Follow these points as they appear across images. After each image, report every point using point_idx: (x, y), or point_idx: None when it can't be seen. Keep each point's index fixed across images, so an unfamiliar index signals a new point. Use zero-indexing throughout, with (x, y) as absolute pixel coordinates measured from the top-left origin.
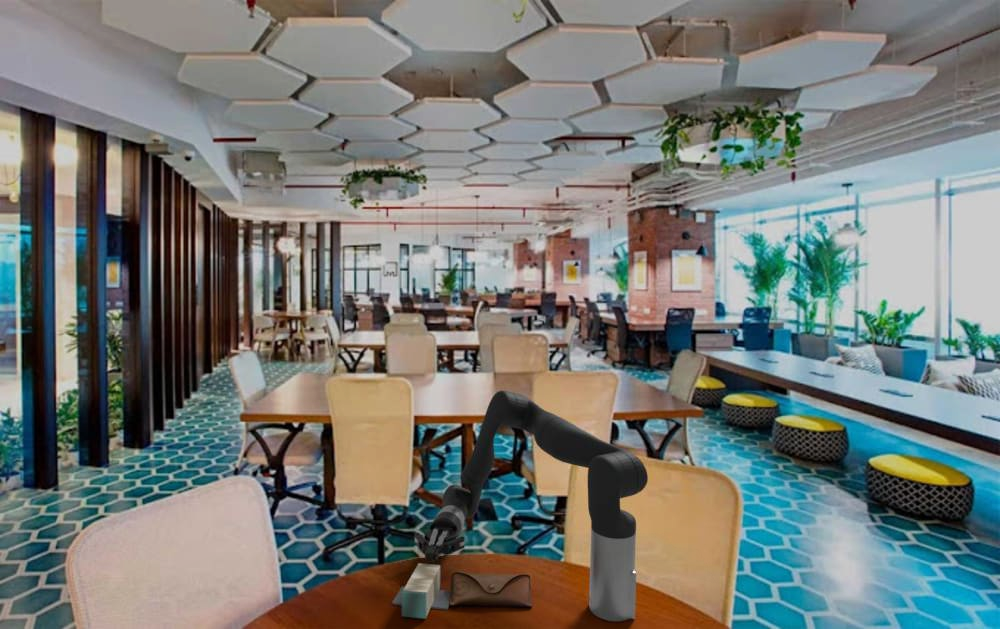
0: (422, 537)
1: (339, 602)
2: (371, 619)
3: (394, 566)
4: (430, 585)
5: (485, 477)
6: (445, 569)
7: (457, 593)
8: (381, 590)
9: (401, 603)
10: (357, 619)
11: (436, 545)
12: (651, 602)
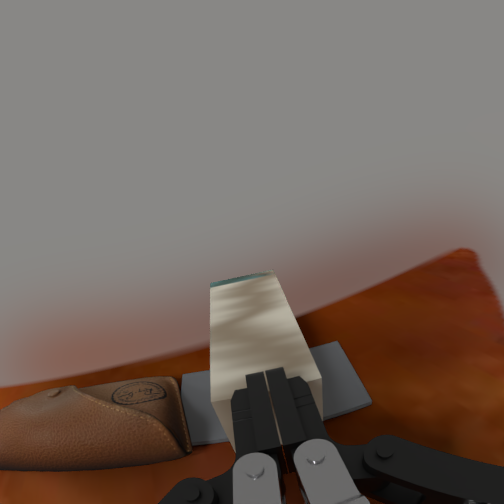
0: (450, 486)
1: (440, 299)
2: (339, 301)
3: None
4: (210, 306)
5: None
6: None
7: (150, 385)
8: (413, 367)
9: (312, 348)
10: (363, 292)
11: (266, 455)
12: None
